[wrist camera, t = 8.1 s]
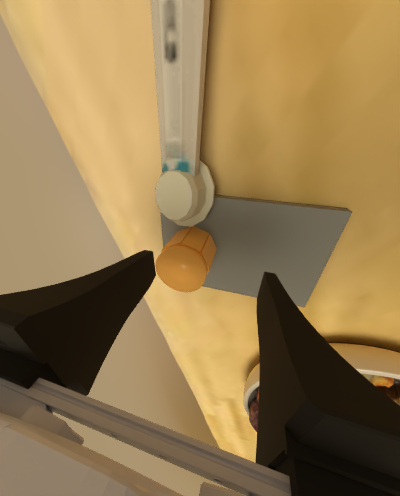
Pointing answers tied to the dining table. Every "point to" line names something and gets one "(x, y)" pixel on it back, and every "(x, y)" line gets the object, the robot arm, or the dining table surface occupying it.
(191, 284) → the orange cap
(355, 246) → the dining table surface
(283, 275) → the charcoal board
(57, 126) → the dining table surface
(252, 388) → the bowl
